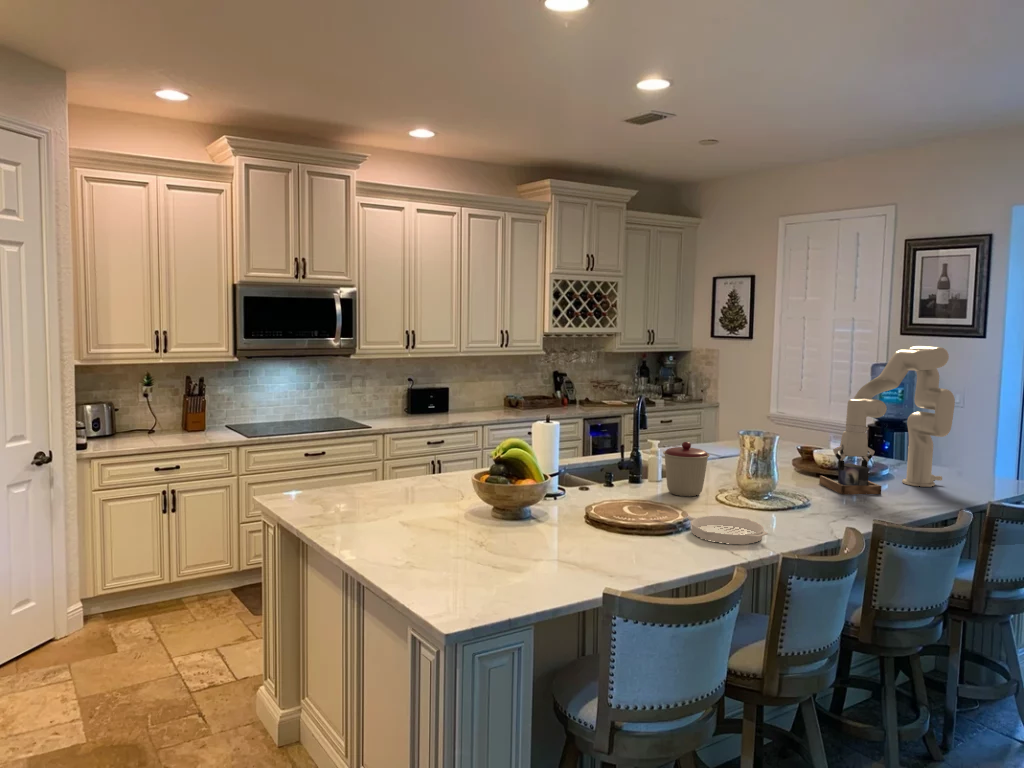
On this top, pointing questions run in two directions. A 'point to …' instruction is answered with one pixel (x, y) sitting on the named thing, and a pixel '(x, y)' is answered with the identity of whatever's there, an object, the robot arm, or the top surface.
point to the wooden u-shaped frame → (850, 487)
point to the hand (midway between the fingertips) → (852, 470)
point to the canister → (685, 469)
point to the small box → (853, 475)
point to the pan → (727, 522)
